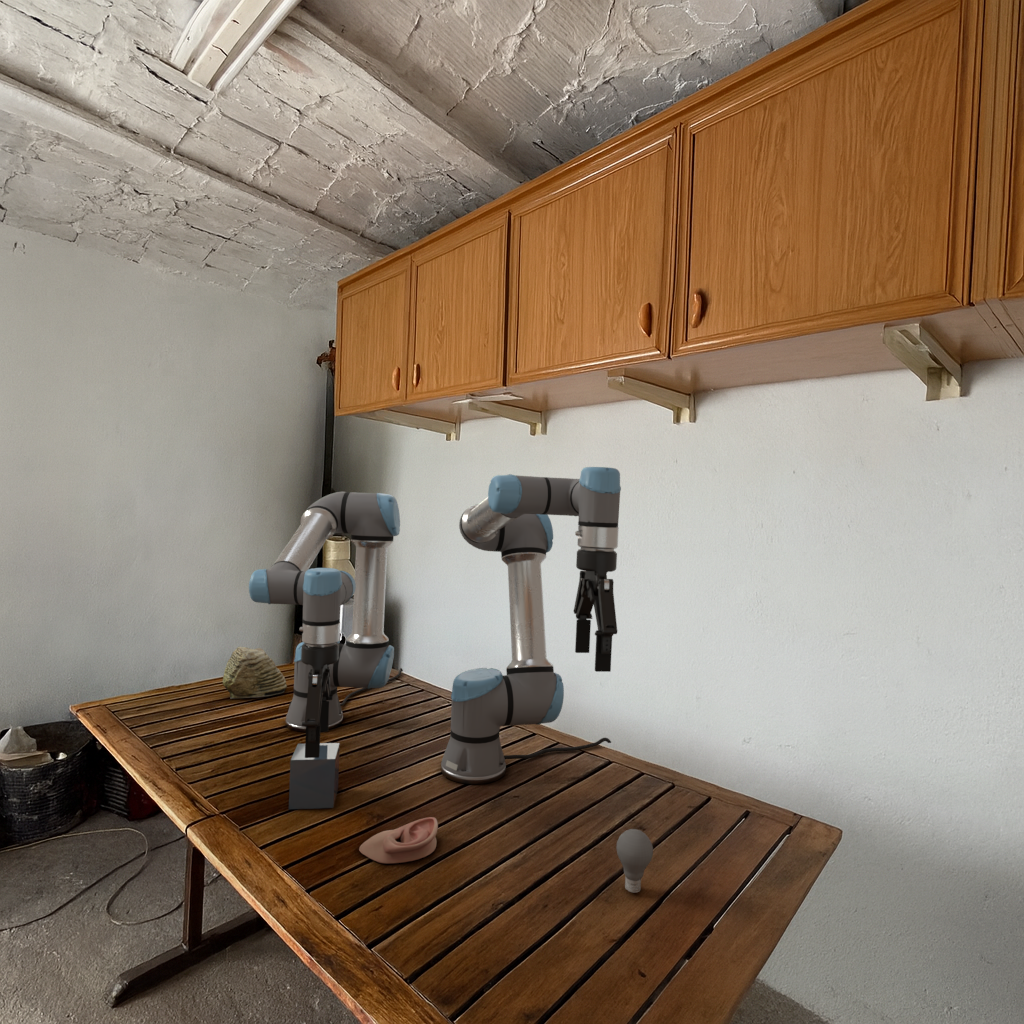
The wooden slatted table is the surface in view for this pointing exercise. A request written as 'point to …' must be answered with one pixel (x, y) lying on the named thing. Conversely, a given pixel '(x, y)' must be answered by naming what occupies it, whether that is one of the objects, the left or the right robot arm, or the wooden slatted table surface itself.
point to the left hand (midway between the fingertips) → (317, 743)
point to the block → (314, 778)
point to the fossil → (252, 674)
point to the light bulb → (634, 857)
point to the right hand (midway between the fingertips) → (591, 661)
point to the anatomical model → (403, 842)
